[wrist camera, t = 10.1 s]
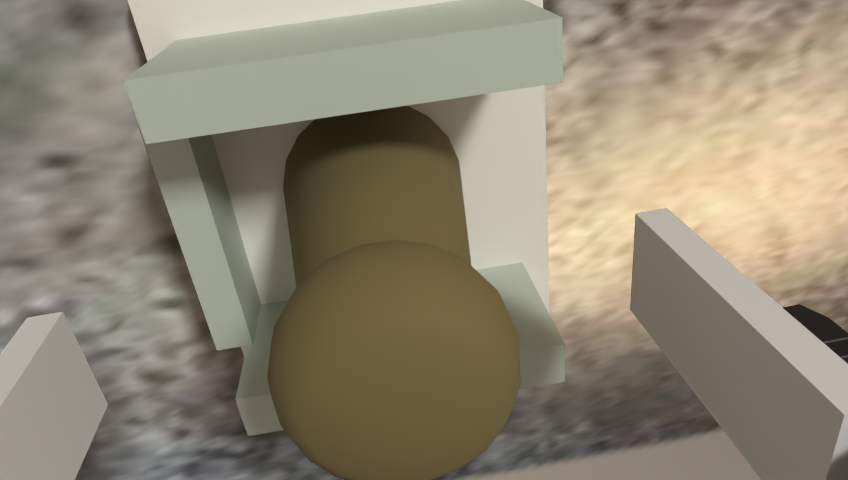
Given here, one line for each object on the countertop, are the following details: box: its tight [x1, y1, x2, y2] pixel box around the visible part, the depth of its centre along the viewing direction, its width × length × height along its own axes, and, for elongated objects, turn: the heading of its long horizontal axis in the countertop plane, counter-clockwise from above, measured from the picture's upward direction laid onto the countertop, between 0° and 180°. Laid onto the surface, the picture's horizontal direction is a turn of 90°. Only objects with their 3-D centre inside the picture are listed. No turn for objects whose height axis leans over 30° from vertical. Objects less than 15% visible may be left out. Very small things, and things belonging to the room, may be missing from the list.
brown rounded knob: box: [267, 106, 521, 480], centre depth 16 cm, size 6×6×11 cm
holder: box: [124, 0, 565, 436], centre depth 19 cm, size 12×14×6 cm
